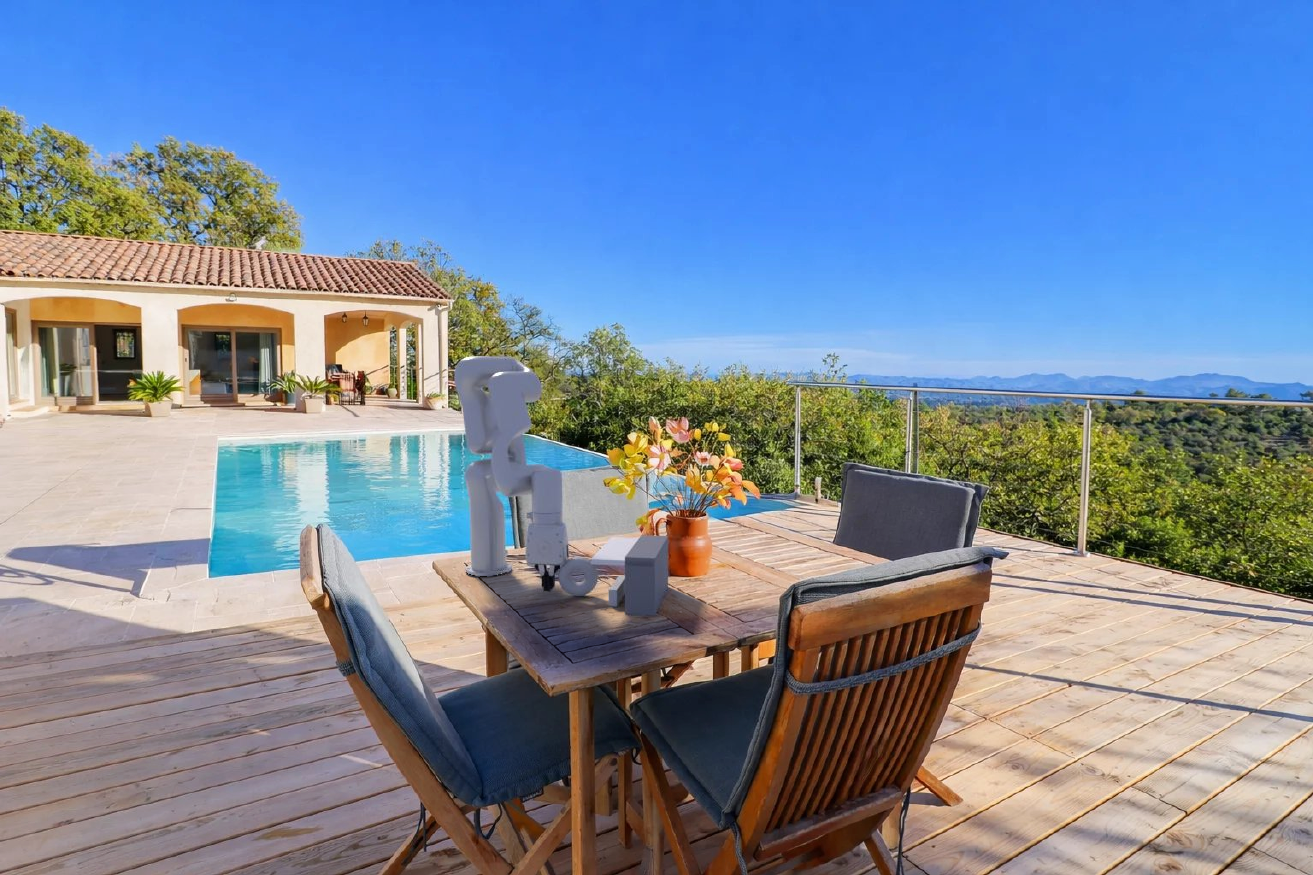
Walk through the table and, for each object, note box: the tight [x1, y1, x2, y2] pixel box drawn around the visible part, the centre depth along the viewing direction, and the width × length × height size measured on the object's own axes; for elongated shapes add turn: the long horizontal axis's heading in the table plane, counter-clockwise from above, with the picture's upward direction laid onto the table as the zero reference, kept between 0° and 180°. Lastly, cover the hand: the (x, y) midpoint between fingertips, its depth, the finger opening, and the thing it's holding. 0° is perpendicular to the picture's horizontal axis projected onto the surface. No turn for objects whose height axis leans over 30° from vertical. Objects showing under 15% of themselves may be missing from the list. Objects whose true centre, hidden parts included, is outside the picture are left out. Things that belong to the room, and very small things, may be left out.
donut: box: [557, 556, 599, 597], centre depth 176 cm, size 10×4×10 cm, turn 88°
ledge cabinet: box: [590, 534, 669, 617], centre depth 174 cm, size 22×15×14 cm
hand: (548, 589), depth 178 cm, fingers closed
